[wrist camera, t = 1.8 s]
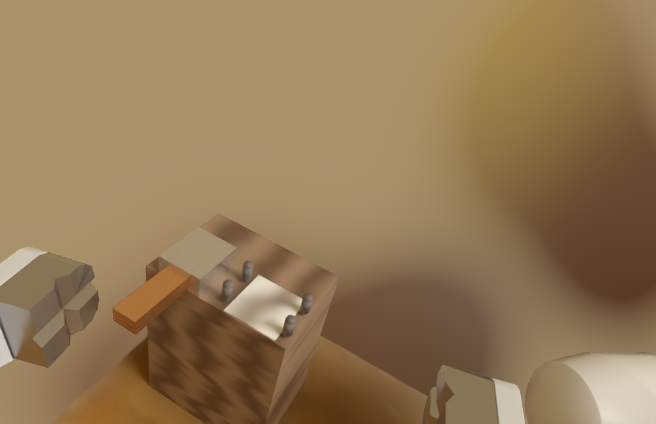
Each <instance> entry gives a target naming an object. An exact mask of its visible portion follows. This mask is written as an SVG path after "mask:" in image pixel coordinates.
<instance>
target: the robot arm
mask: <svg viewBox="0 0 656 424" xmlns="http://www.w3.org/2000/svg"><path fill="white" fill-rule="evenodd" d="M94 277H95V276H94V273H93V269H92V266H90V265H87V264H85V263H81V262H78V261H75V260H72V259H68V258H65V257H62V256H59V255H56V254H52V253H49V252H46V251H42V250H39V249H36V248H32V247H26V248H22V249H20V250H18V251H17V252H16V253H14V254H13V255H11V256H10V257H9V258H8V259H6V260H5V261H3V262H2V263H1V264H0V367H1V366H2V365H5V364H6V363H9V362H10V361H12V360H13V358H15V359H19V360H22V361H26V362H29V363H33V364H36V365H40V366H44V367H47V368H48V367H49V366H50V365H51V364H52V363H53V362H54V361H55V360H56V359H57V358H58V357H59V356H60V355H61V354H62V352H63V351H64V350H65V349H66V348H67V347H68V346H69V345H70V335H72V334H75V333H77V332H79V331H81V330H84V328H85V327H86V326H87V325H88V324H89V323H90V322H91V321H92V319H93V317H94V315H95V313H96V311H97V309H98V301H99V297H98V291H97V290H96V289H95V288H94V286H93V285H92V284H91V283H90V282H91V281H92V280H93V278H94ZM525 412H526V417H527V421H528V424H656V353H646V352H641V353H596V352H587V353H580V354H576V355H572V356H567V357H562V358H559V359H555V360H552V361H548V362H545V363H543V364H541V365H540V366H539V367H537V368H536V369H535V371H534V372H533V374H532V375H531V377H530V380H529V382H528V385H527V388H526V394H525ZM423 424H525V421H524V415H523V409H522V402H521V396H520V390H519V388H518V387H517V385H514V384H511V383H507V382H504V381H500V380H497V379H493V378H490V377H487V376H484V375H480V374H476V373H472V372H469V371H465V370H461V369H458V368H454V367H450V366H446V365H443V366H442V367H441V368H440V371H439V373H438V375H437V386H435V387H433V388H431V391H430V393H429V395H428V398H427V402H426V405H425V409H424V416H423Z"/></svg>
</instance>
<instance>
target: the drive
mask: <svg viewBox="0 0 656 424" xmlns="http://www.w3.org/2000/svg"><path fill="white" fill-rule="evenodd" d="M236 251H237V247H235V246H233V245H231V244H229V243H228V242H226V241H224V240H222V239H220V238H218V237H217V236H215V235H213V234H211V233H209V232H207V231H206V230H204V229H202V228H200V227H198V228H196V229H195V230H194V231H192V232H191V233H189V234H188V235H187V236H185V237H184V238H182V239H181V240H180V241H178V242H177V243H175V244H174V245H173V246H172V247H170V248H169V249H167V250H166V251H164V252H163V253H162V254H160V255H159V273H158V274H156V275H155V276H154V277H152V278H151V279H150V280H149V281H147V282H146V283H145V284H143V285H142V286H141V287H140V288H138V289H137V290H135V291H134V292H133V293H131V294H130V295H129V296H128V297H126V298H125V299H124V300H122V301H121V302H120V303H118V304H117V305H116V306H114V307H113V318H114V321H115V322H117V323H119V324H120V325H122V326H123V327H125V328H126V329H128V330H129V331H131V332H132V333H134V334H137V333H138V332H139V331H140V330H141V329H143V328H144V327H145V326H146V325H147V324H148V323H150V322H151V321H152V320H153V319H154V318H155V317H157V316H158V315H159V314H160V313H161V312H162V311H164V310H165V309H166V308H167V307H168V306H169V305H171V304H172V303H173V302H174V301H175V300H176V299H178V298H179V297H180V296H181V295H182V294H183V293H185V292H186V291H189V292H190V293H192V294H194V295H195V296H197V297H200V296H201V295H202V294H203V293H204V292H205V291H206V290H207V289H208V288H210V287H211V286H212V285H213V284H214V283H215V282H216V281H217V280H218V279H219V278H221V277H222V276H223V275H224V274H225V273H226V272H227V271H228V270H229V269H231V268H232V267H233V266H234V265H235V259H236Z"/></svg>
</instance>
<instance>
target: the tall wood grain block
mask: <svg viewBox="0 0 656 424" xmlns="http://www.w3.org/2000/svg"><path fill="white" fill-rule="evenodd" d="M200 228H202V229H204V230H206V231H207V232H209V233H211V234H213V235H215V236H217V237H218V238H220V239H222V240H224V241H226V242H228V243H229V244H231V245H233V246H235V247H237V251H236V259H235V265H234V266H233V267H232V268H231V269H229V270H228V271H227V272H226V273H225V274H224V275H223V276H222V277H221V278H219V279H218V280H217V281H216V282H215V283H214V284H213V285H212V286H211V287H210V288H208V289H207V290H206V291H205V292H204V293H203V294H202V295H201V296H200V297H197V296H195V295H194V294H192V293H190V292H189V291H186V292H185V293H183V294H182V295H181V296H180V297H179V298H178V299H176V300H175V301H174V302H173V303H172V304H171V305H169V306H168V307H167V308H166V309H165V310H164V311H162V312H161V313H160V314H159V315H158V316H157V317H155V318H154V319H153V320H152V321H151V322H150V323H148V357H149V386H151V387H152V388H154V389H155V390H157V391H158V392H160V393H161V394H163V395H164V396H166V397H167V398H169V399H170V400H172V401H173V402H175V403H176V404H177V405H179V406H180V407H182V408H183V409H185V410H186V411H188V412H189V413H191V414H192V415H194V416H195V417H197V418H198V419H200V420H201V421H203V422H204V423H206V424H279V422H280V420H281V419H282V417H283V416H284V414H285V413H286V411H287V410H288V408H289V406H290V405H291V403H292V402H293V400H294V399H295V397H296V396H297V394H298V392H299V391H300V389H301V388H302V386H303V385H304V382H305V379H306V376H307V373H308V370H309V367H310V364H311V361H312V358H313V354H314V351H315V348H316V345H317V342H318V339H319V336H320V333H321V330H322V327H323V324H324V321H325V318H326V315H327V312H328V309H329V306H330V303H331V300H332V297H333V294H334V291H335V288H336V285H337V282H338V279H339V277H338V276H337V275H335V274H333V273H331V272H329V271H327V270H325V269H323V268H321V267H319V266H317V265H316V264H314V263H312V262H310V261H308V260H306V259H304V258H302V257H300V256H298V255H297V254H295V253H293V252H291V251H289V250H287V249H285V248H283V247H281V246H280V245H278V244H275V243H274V242H272V241H270V240H268V239H266V238H264V237H262V236H261V235H259V234H257V233H255V232H253V231H251V230H249V229H247V228H245V227H243V226H242V225H240V224H238V223H236V222H234V221H232V220H230V219H228V218H226V217H224V216H223V215H221V214H217V215H216V216H215V217H213V218H212V219H210V220H209V221H208V222H206V223H205V224H204V225H202V226H201V227H200ZM158 273H159V257H158V258H156V259H155V260H154V261H152V262H151V263H150V264H148V265H147V266H146V282H147V281H149V280H150V279H151V278H152V277H154V276H155V275H156V274H158Z"/></svg>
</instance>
